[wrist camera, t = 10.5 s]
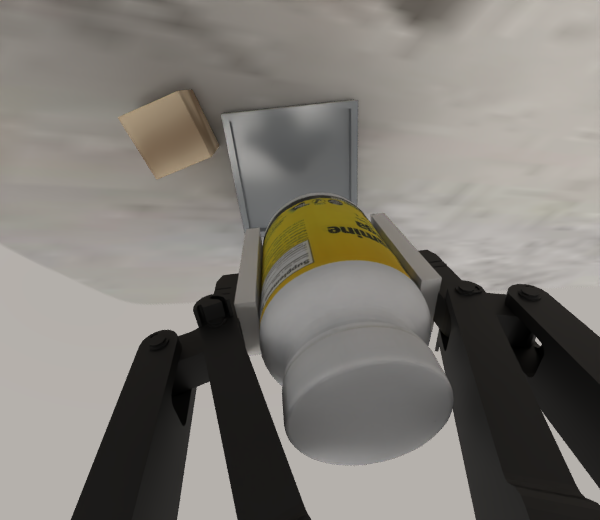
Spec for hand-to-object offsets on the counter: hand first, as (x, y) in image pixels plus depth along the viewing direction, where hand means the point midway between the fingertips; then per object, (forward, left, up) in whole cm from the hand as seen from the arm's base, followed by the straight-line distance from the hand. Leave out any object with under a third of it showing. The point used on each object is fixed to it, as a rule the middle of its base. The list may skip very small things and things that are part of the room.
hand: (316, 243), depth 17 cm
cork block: (-5, -10, -16) cm, 19 cm away
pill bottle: (0, 0, -1) cm, 1 cm away
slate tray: (0, 0, -16) cm, 16 cm away
